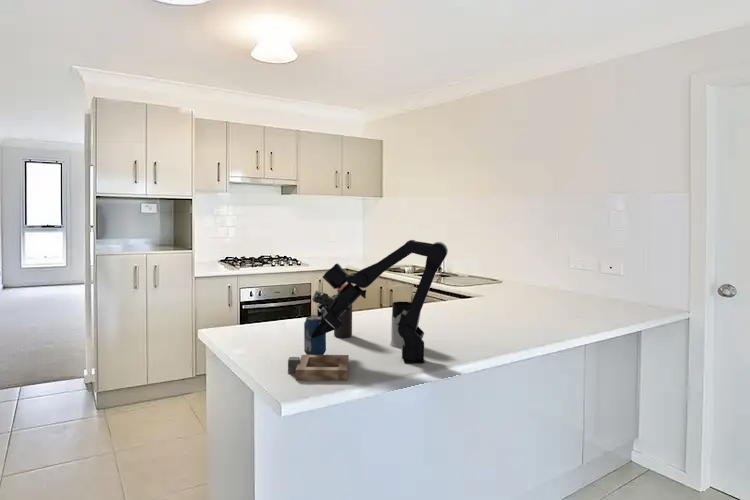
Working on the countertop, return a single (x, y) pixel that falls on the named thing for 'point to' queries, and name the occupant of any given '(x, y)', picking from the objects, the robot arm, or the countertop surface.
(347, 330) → the bottle
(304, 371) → the wooden square frame
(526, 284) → the countertop surface
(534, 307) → the countertop surface
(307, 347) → the soda can
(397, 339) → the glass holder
